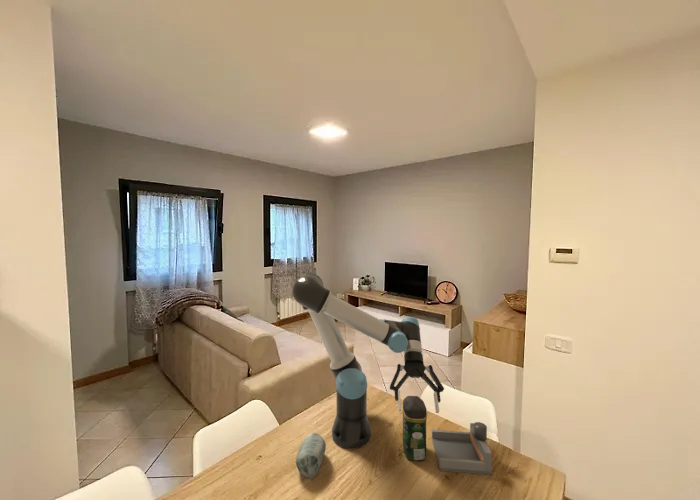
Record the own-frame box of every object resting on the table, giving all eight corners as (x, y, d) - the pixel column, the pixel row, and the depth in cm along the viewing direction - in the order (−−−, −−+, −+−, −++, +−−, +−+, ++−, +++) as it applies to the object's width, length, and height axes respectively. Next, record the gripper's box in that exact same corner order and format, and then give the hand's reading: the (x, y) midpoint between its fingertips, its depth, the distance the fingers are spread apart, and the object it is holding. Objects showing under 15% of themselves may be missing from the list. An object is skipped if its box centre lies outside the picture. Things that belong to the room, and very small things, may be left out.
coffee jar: (400, 442, 105) (401, 393, 104) (422, 442, 105) (422, 393, 104) (405, 462, 95) (405, 408, 95) (428, 462, 95) (429, 408, 95)
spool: (322, 476, 85) (310, 441, 88) (295, 487, 87) (284, 452, 90) (335, 455, 98) (325, 425, 101) (312, 464, 99) (302, 434, 102)
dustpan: (440, 470, 92) (440, 437, 91) (431, 438, 107) (431, 410, 106) (494, 475, 90) (495, 441, 90) (478, 442, 105) (478, 413, 105)
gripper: (442, 358, 118) (451, 415, 104) (382, 356, 120) (383, 412, 106) (445, 351, 113) (456, 410, 99) (383, 349, 115) (384, 407, 101)
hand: (418, 411), depth 102 cm, fingers open, 13 cm apart
